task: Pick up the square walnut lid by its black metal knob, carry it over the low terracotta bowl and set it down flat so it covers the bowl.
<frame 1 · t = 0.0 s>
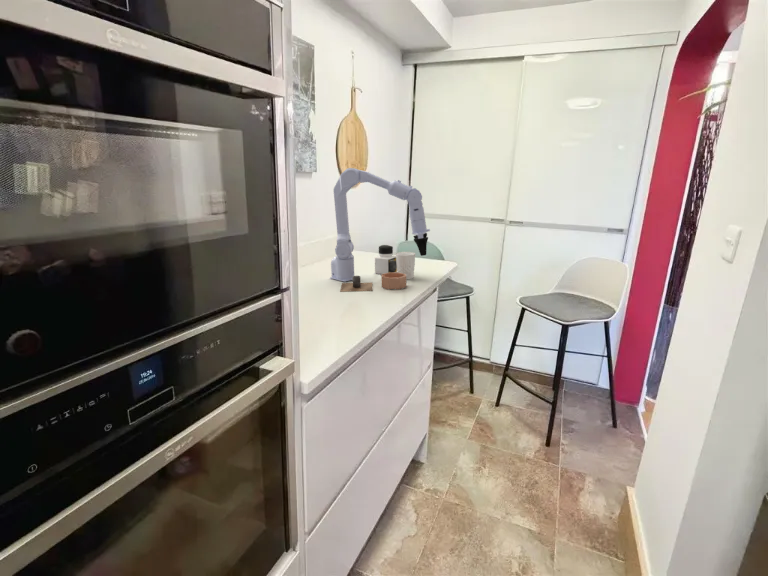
hand: (423, 253, 171), 11 cm above the worktop, tool pointing down, fingers open, 7 cm apart
bowl: (393, 286, 163), on the worktop
medicine bottle: (386, 273, 185), on the worktop
white cup: (405, 277, 177), on the worktop
lid: (356, 288, 163), on the worktop
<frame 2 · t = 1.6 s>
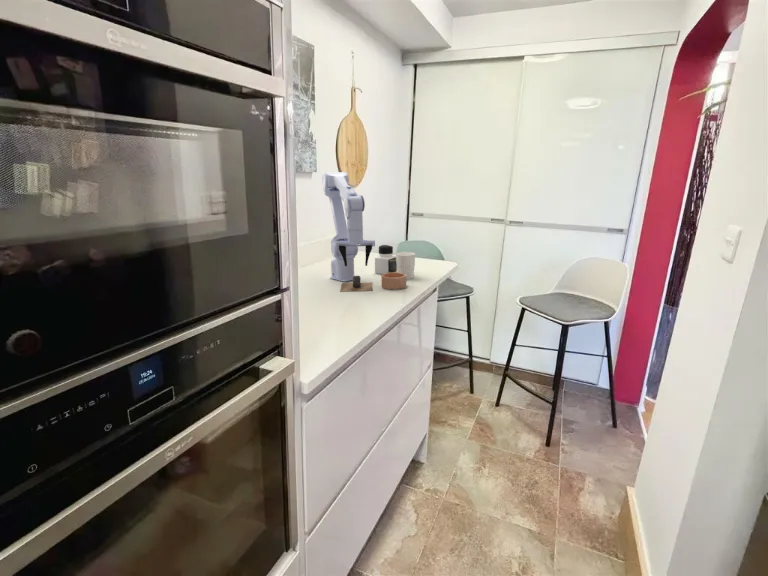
hand: (356, 265, 160), 8 cm above the worktop, tool pointing down, fingers open, 7 cm apart
nothing on the worktop moved.
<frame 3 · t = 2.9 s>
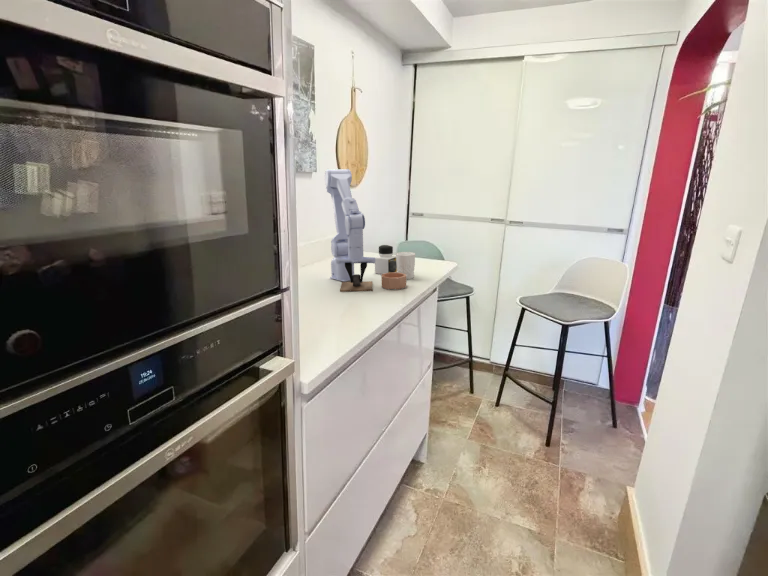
hand: (356, 282, 162), 2 cm above the worktop, tool pointing down, fingers closed on lid, 3 cm apart
lid: (356, 287, 163), on the worktop, touching gripper
everything else where it was.
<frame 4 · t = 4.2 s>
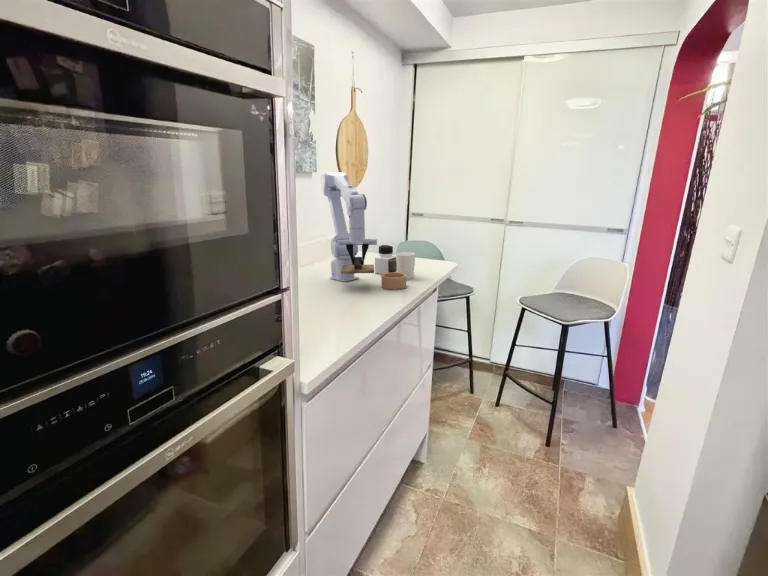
hand: (358, 264, 160), 9 cm above the worktop, tool pointing down, fingers closed on lid, 3 cm apart
lid: (358, 269, 161), point 7 cm above the worktop, touching gripper
everything else where it was.
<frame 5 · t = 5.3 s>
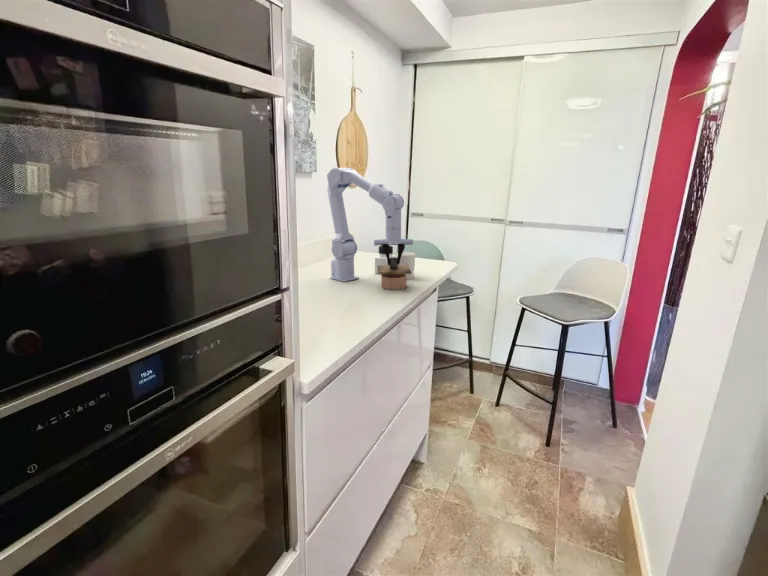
hand: (393, 264, 161), 9 cm above the worktop, tool pointing down, fingers closed on lid, 3 cm apart
lid: (393, 270, 161), point 6 cm above the worktop, touching gripper
everything else where it was.
when the fingers open (7 cm above the worktop, at t = 5.8 s): lid stays where it is, resting on bowl.
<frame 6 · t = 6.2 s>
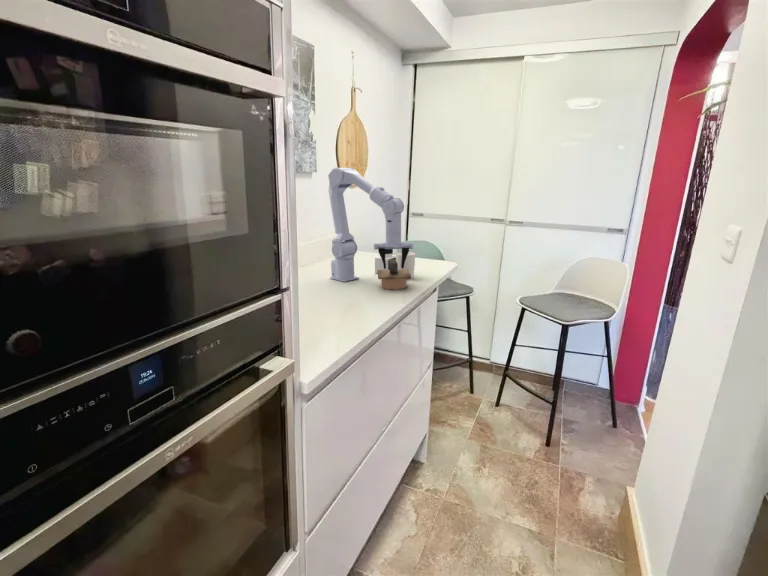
hand: (393, 268, 161), 7 cm above the worktop, tool pointing down, fingers open, 6 cm apart
lid: (393, 275, 162), point 4 cm above the worktop, touching bowl
everything else where it was.
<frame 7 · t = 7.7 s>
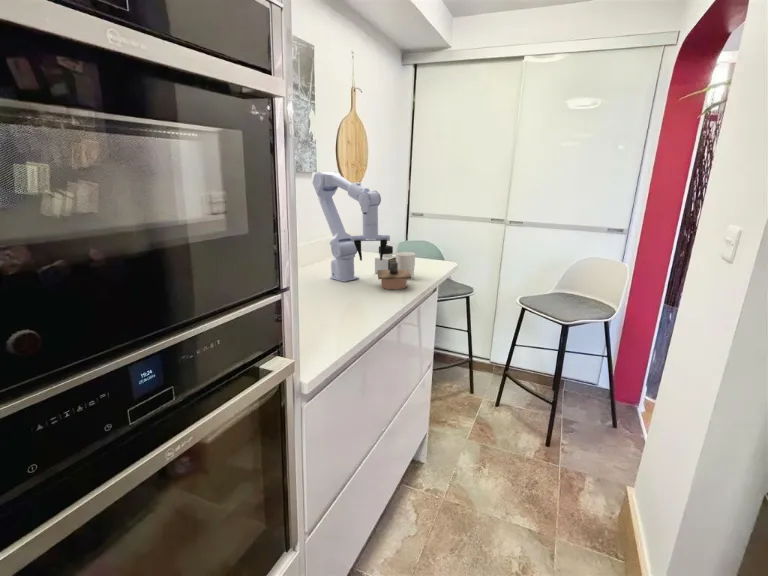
hand: (371, 259, 163), 10 cm above the worktop, tool pointing down, fingers open, 7 cm apart
nothing on the worktop moved.
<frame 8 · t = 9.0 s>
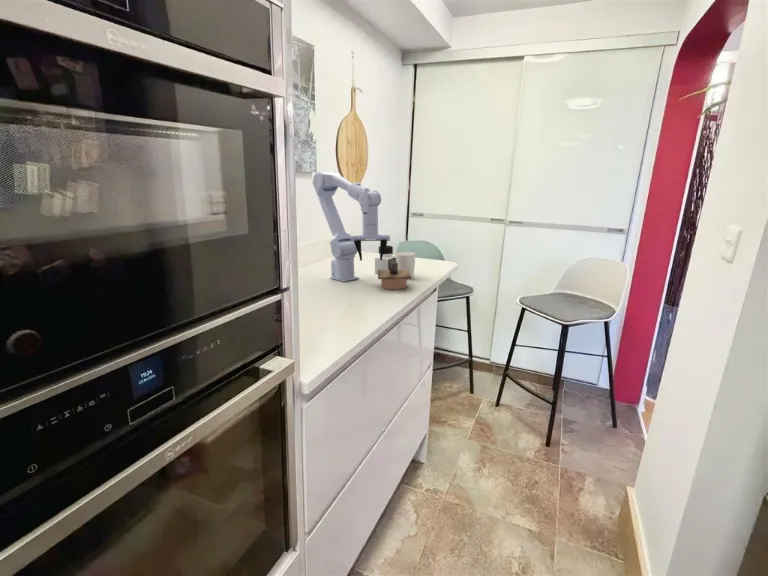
hand: (371, 259, 163), 10 cm above the worktop, tool pointing down, fingers open, 7 cm apart
nothing on the worktop moved.
at the end: lid 0.1 cm off-centre on the bowl, point 4.4 cm above the bowl's base; lid tilted 0°; the gripper is holding nothing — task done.
